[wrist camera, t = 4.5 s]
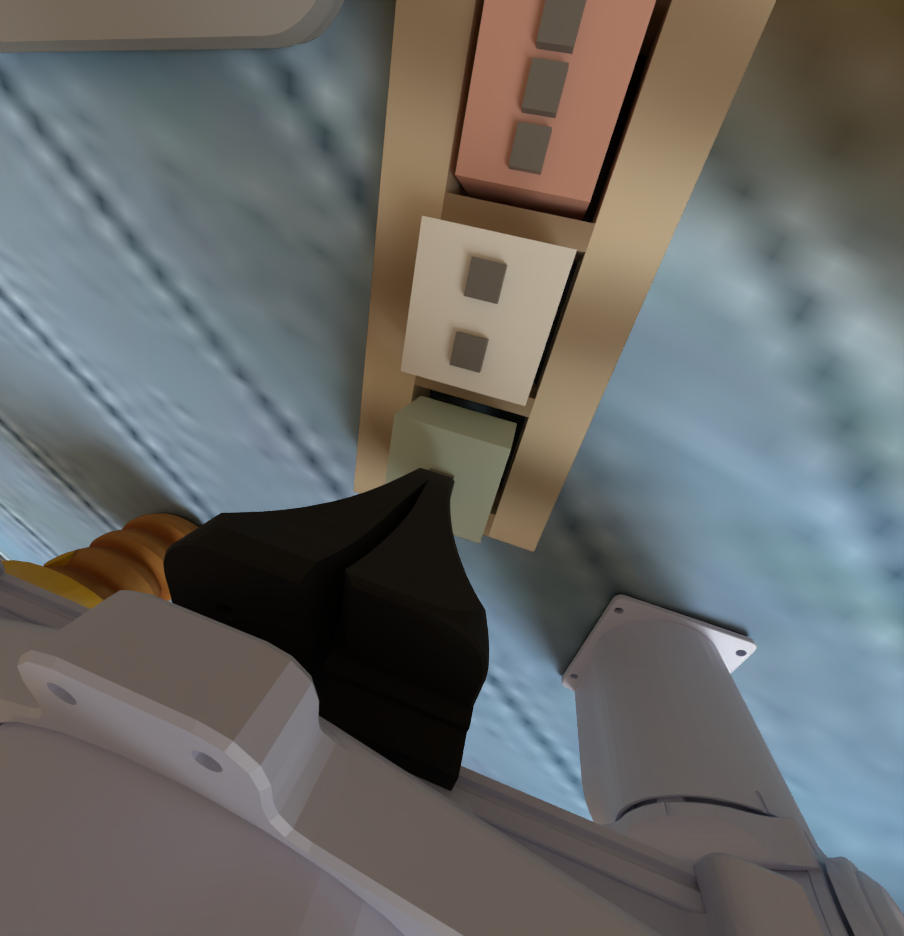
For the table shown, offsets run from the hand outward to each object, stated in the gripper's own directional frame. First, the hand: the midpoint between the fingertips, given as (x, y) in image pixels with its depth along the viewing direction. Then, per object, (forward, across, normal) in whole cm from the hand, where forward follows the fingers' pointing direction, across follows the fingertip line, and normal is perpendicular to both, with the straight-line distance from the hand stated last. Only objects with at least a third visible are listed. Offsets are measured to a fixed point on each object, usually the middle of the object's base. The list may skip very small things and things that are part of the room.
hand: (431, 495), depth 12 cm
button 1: (+4, 0, 0) cm, 4 cm away
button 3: (+7, 0, -12) cm, 14 cm away
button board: (+7, 0, -6) cm, 9 cm away
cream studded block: (+4, 0, -6) cm, 7 cm away
